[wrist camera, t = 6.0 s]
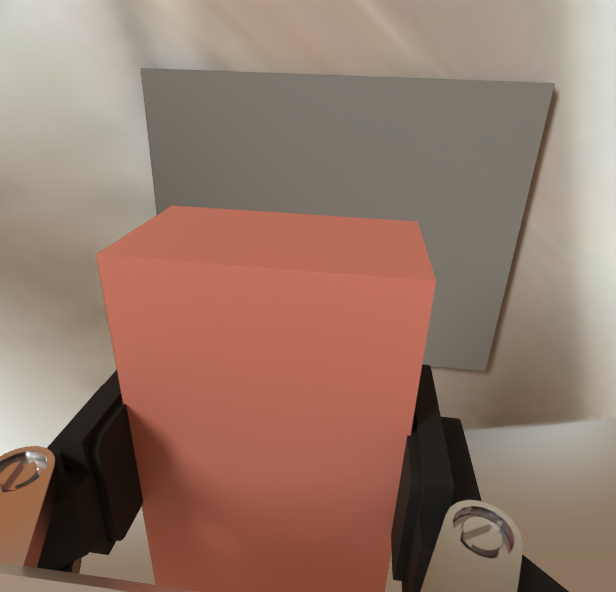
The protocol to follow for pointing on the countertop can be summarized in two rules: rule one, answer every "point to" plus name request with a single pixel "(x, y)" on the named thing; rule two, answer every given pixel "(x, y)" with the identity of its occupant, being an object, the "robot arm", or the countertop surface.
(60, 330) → the countertop surface
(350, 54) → the countertop surface
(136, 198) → the countertop surface
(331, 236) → the card box
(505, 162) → the mat
